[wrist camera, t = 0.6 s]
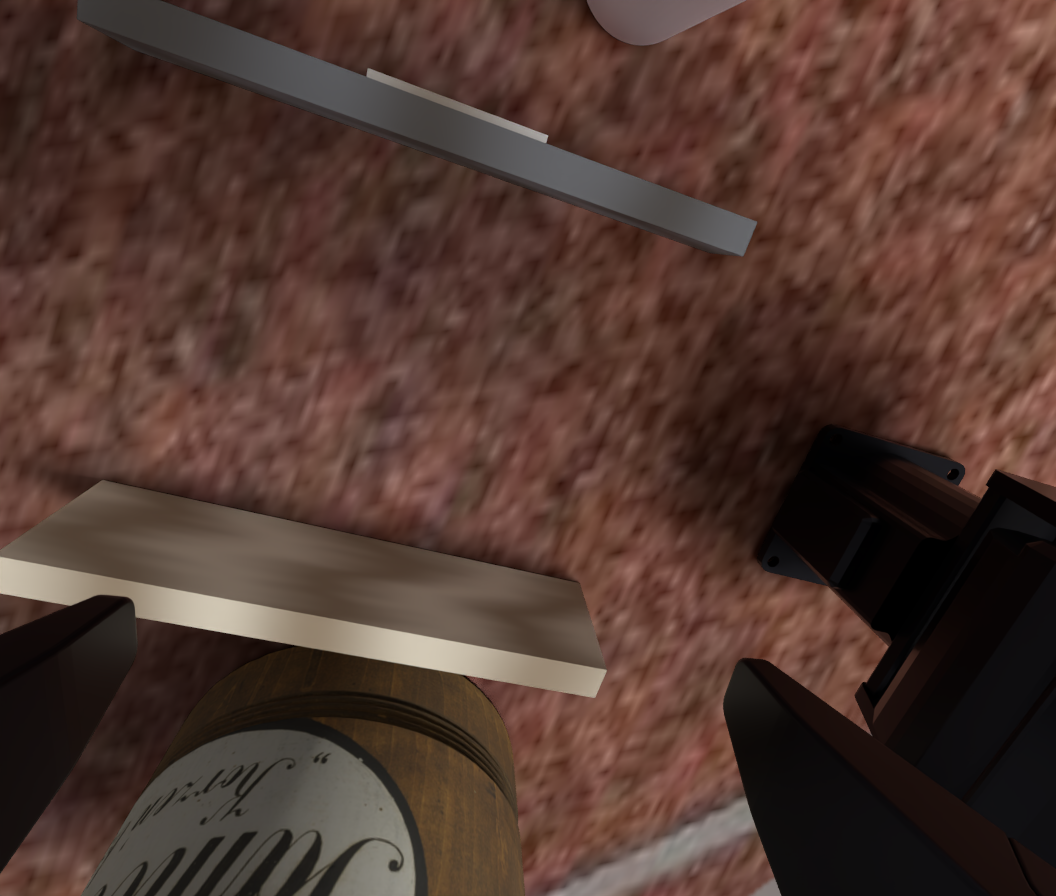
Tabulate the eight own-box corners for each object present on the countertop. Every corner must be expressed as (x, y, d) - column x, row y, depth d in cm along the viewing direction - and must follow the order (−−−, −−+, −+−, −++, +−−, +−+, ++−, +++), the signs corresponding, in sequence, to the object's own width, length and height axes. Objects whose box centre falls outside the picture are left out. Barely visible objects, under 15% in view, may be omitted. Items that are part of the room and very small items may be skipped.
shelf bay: (725, 213, 19) (809, 208, 14) (570, 606, 24) (594, 697, 19) (138, -4, 15) (-4, -104, 11) (100, 509, 20) (-8, 591, 16)
